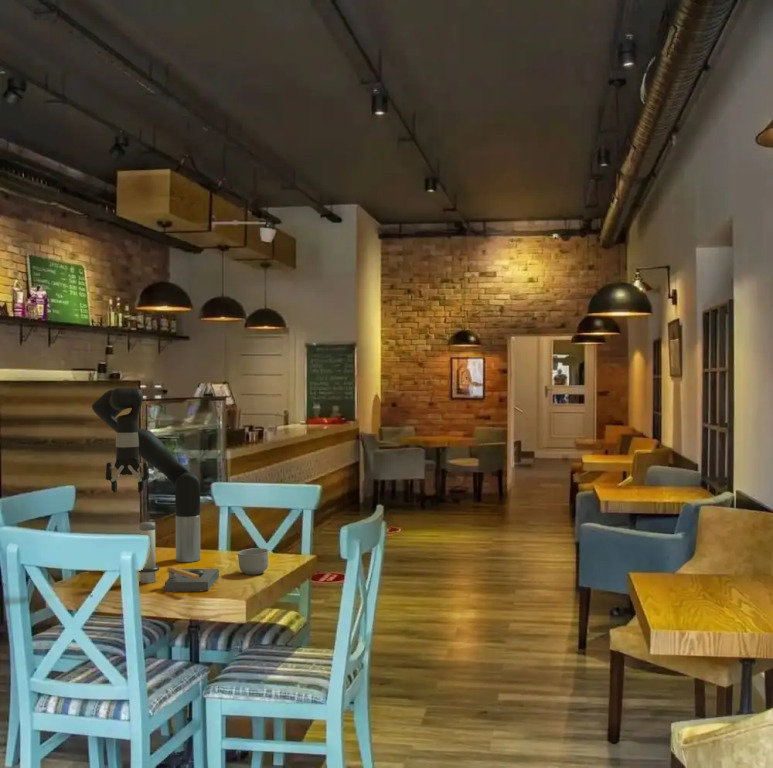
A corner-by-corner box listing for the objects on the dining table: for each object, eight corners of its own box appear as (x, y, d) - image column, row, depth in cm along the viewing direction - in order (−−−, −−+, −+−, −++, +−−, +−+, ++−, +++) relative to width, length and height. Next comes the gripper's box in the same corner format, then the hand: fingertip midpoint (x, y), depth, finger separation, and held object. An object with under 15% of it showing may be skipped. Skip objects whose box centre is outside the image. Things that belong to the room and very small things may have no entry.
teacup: (267, 576, 304) (267, 553, 304) (236, 576, 303) (236, 553, 303) (270, 567, 318) (270, 545, 317) (240, 568, 317) (240, 546, 317)
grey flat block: (178, 577, 302) (177, 563, 302) (218, 577, 302) (218, 562, 302) (164, 591, 282) (164, 576, 282) (208, 591, 282) (208, 575, 282)
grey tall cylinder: (139, 579, 299) (139, 521, 299) (161, 579, 299) (161, 521, 299) (133, 584, 292) (133, 525, 292) (156, 584, 292) (156, 525, 292)
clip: (174, 569, 290) (174, 566, 290) (201, 578, 277) (201, 574, 277) (165, 571, 288) (165, 567, 288) (192, 580, 275) (192, 576, 275)
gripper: (103, 446, 296) (103, 493, 296) (145, 446, 296) (145, 493, 296) (109, 444, 303) (110, 491, 303) (150, 444, 303) (151, 490, 303)
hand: (127, 492), depth 299 cm, fingers open, 8 cm apart
